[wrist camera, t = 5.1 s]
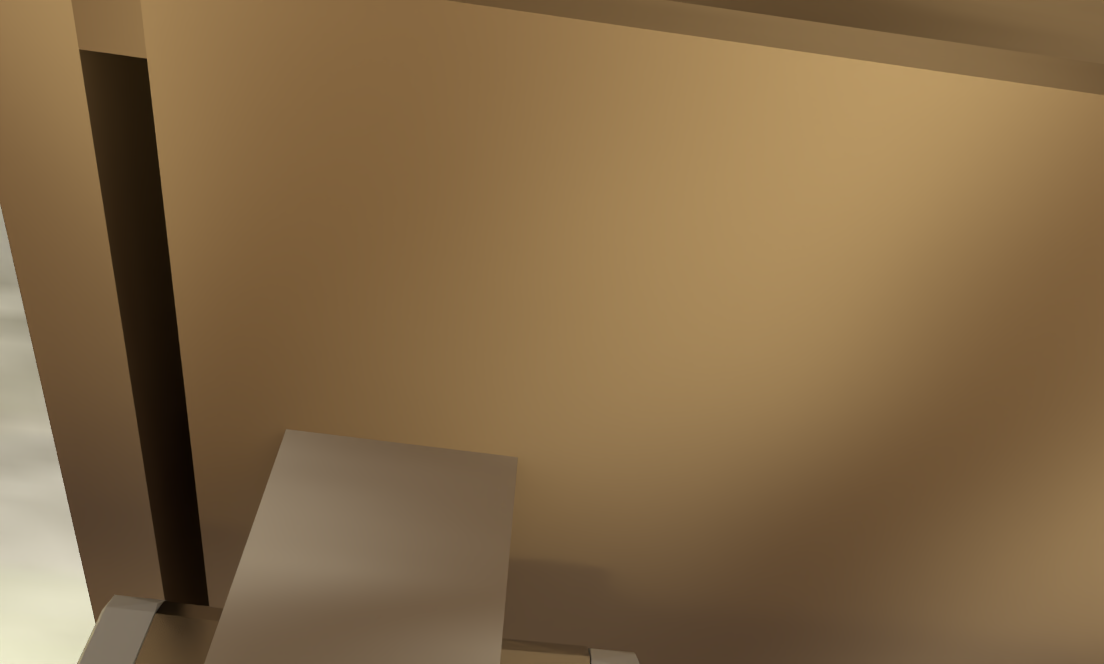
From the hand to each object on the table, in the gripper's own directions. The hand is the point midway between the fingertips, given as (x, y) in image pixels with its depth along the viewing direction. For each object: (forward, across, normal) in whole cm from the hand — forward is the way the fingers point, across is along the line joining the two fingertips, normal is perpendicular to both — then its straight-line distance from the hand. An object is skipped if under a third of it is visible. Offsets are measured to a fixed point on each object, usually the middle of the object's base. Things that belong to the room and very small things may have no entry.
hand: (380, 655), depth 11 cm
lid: (+2, +5, 0) cm, 5 cm away
